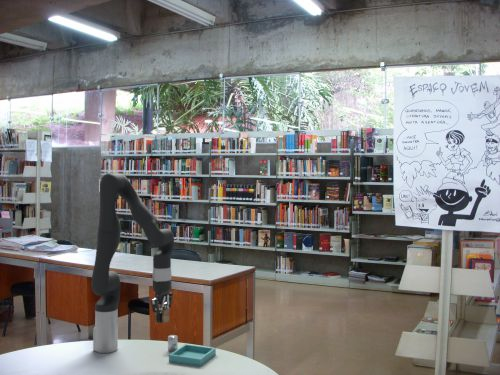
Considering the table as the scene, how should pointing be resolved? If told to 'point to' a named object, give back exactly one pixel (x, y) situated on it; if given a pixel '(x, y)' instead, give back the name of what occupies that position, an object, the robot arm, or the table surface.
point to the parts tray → (192, 355)
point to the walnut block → (164, 315)
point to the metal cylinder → (172, 343)
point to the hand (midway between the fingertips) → (162, 320)
